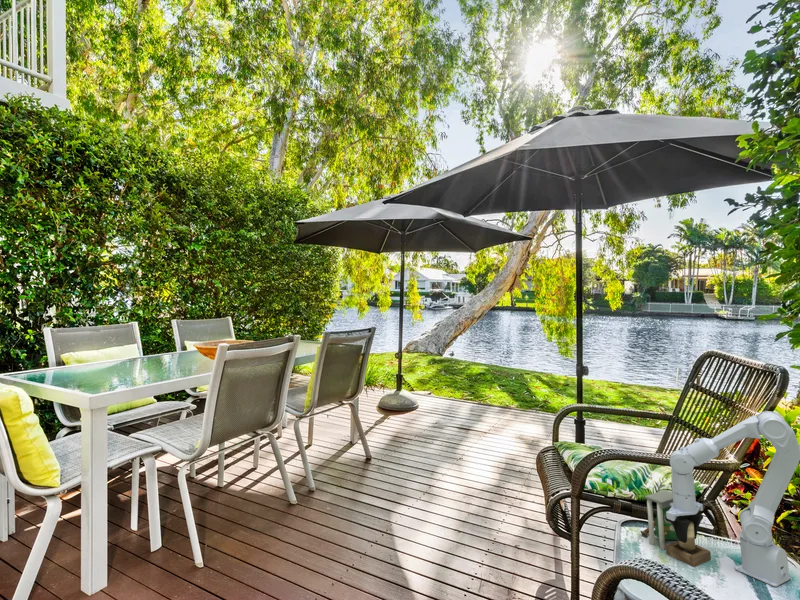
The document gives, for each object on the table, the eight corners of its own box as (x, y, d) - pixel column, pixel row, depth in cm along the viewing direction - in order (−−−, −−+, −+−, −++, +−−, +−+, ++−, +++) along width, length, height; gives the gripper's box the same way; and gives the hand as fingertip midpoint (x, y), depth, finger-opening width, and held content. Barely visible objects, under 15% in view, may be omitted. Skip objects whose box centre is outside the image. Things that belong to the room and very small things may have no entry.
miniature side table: (685, 543, 134) (681, 495, 135) (665, 551, 130) (661, 502, 131) (668, 536, 139) (664, 490, 140) (648, 543, 135) (644, 496, 136)
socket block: (711, 559, 125) (710, 550, 125) (694, 567, 121) (693, 557, 121) (682, 547, 132) (682, 538, 132) (666, 554, 128) (665, 545, 128)
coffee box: (676, 535, 139) (680, 495, 139) (683, 540, 136) (687, 499, 136) (653, 534, 138) (657, 494, 138) (660, 540, 135) (663, 498, 135)
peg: (698, 547, 126) (696, 523, 126) (690, 550, 124) (688, 526, 125) (684, 541, 129) (682, 517, 130) (676, 544, 128) (674, 520, 128)
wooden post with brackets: (665, 530, 141) (660, 518, 141) (650, 544, 139) (644, 532, 138) (660, 527, 143) (655, 516, 143) (645, 542, 140) (640, 530, 140)
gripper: (684, 483, 134) (687, 528, 133) (655, 492, 128) (658, 539, 127) (708, 491, 128) (712, 538, 127) (678, 501, 122) (682, 550, 121)
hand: (687, 539), depth 127 cm, fingers closed on peg, 4 cm apart
